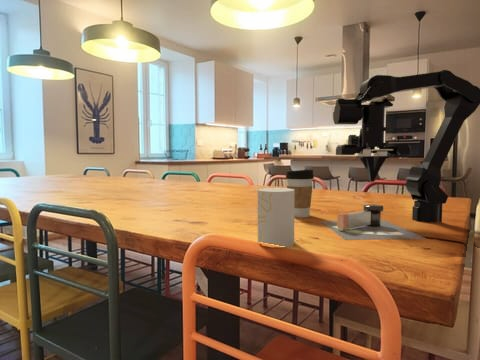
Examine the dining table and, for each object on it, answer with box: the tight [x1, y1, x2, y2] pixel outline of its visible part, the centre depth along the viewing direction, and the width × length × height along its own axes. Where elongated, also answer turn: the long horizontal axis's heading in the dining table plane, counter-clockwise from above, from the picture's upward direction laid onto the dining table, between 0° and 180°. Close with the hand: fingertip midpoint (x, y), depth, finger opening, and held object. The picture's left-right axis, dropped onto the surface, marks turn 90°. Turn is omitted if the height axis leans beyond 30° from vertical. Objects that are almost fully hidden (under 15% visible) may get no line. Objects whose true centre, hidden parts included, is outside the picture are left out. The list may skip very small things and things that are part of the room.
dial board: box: [321, 220, 427, 241], centre depth 85 cm, size 18×20×1 cm
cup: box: [256, 187, 295, 248], centre depth 76 cm, size 8×8×12 cm
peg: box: [337, 203, 384, 230], centre depth 87 cm, size 15×5×5 cm, turn 122°
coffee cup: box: [285, 169, 315, 218], centre depth 104 cm, size 8×8×15 cm
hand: (371, 181), depth 95 cm, fingers closed
